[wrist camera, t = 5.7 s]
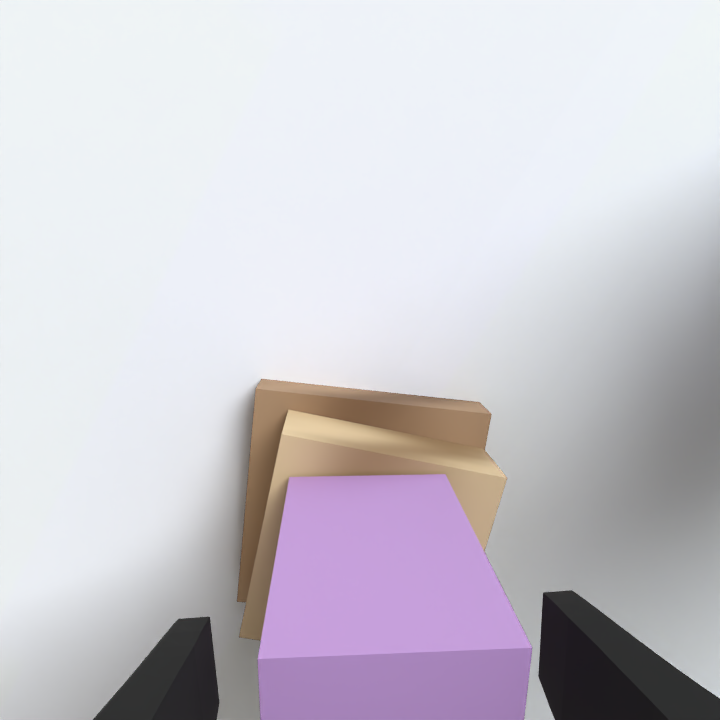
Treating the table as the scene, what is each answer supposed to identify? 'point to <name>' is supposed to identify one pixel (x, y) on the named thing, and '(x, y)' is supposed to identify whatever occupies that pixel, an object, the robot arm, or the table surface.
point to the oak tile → (364, 458)
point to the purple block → (386, 608)
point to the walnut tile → (352, 405)
